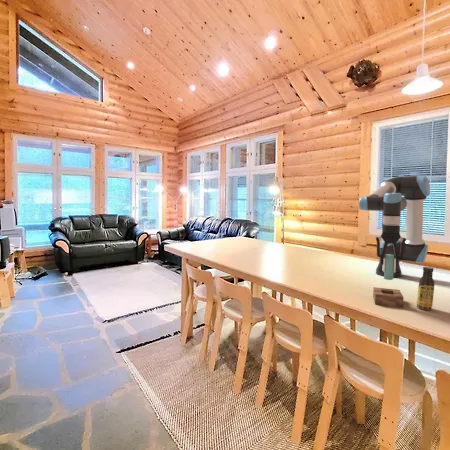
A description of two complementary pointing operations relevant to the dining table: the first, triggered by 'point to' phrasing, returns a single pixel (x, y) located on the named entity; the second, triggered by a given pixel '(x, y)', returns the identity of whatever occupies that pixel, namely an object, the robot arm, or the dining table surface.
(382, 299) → the socket block
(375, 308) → the dining table surface
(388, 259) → the dowel
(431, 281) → the sauce bottle
